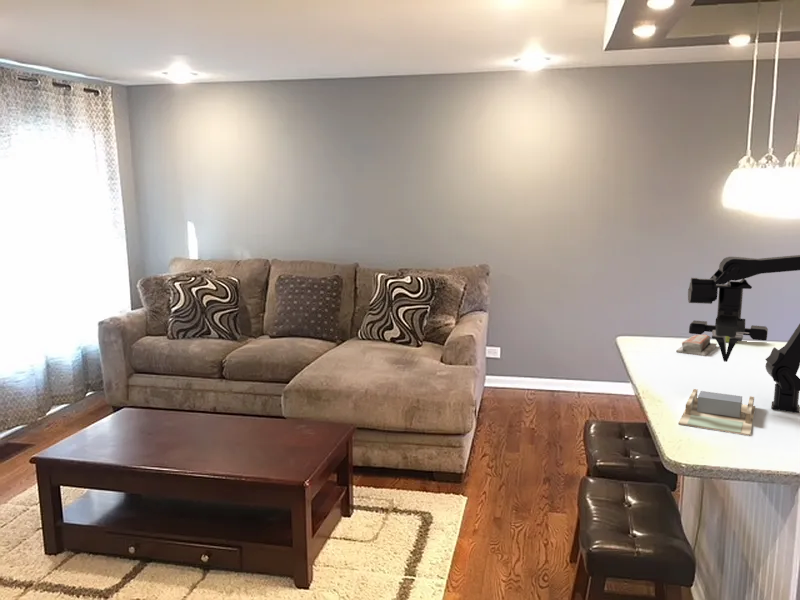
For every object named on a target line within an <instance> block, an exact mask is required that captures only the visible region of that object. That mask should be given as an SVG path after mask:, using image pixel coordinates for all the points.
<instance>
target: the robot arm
mask: <svg viewBox="0 0 800 600" xmlns="http://www.w3.org/2000/svg"><path fill="white" fill-rule="evenodd" d="M795 271H796V272H797V271H800V254H798V255H797V254H796V255H795V254H794V255H785V256H783V255H782V256H774V257H762V258H753V257H741V256H727V257H723V259H722V260H721V261H720V262H719V265H718V269H717V270H716V271H715V272H714V274H713V275H711V277H710V278H699V277H691V278H690V282H689V286H688V290H687V301H688V304H704V305H705V304H709V305H712V304H713V302H715V301H717V312H716V313H717V314H716V315H717V316H716V317H715V324H714V325H713V324H708V321H705V320H693V321H691V322H690V323H689V327H688V328H689V329H688V334H691V335H703V334H704V333H705V332H710V333H712V335H711V339H713V340H716V342H717V344H718V346H719V349H720V352H721V356H722V360H723V362H728V360H729V358H730V355H731V354H732V351H733V349H734V347H735V346H736V345H737V343H738V342H742V341H743V339H744V336H749V338H751V339H752V340H756V341H767V339H768V334H769V333H768V332H769V329H768V327H767V326H766V325H764V326H763V325H750V328H749V327H748V328H747V327H746V318H742V307H743V305H742V304H743V294H744V292H743V291H744V290H745V289H746V290H752V288H753V286H752V285H751V284H750V283H749V282H748V281H747V279H749V278H752V277H755V276H758V275H761V274H770V273H771V274H772V273H784V272H795ZM717 299H718V300H717ZM726 336H729V337H730V339H729V343H728V345H727V342H726ZM737 341H738V342H737ZM726 345H727V346H726ZM765 362H766V363H765V370H766V372H767V373H768V375H769V376H770V377H771V378H772V380H773V382H775V384H774V391H773V393H774V394H773V395H774V396H773V401H771V407H770V410H775V411H780V412H781V411H783V412H788V413H794V414H795V413H796V414H799V413H800V404H799V398H800V377H799V376H798V375H797V373H798V372H799V368H800V323H799V324H798V325H797V327H796V328H795V330H794V332H793V333H792V334H791V336H790V338H789V339H788V341H787V342H786V344H785V345H784V346H783V347H781V348H779V349H777V348H776V347H773V348H772V350H771V352H770V354H769V355H768V356H767V357H766V358H765Z"/></svg>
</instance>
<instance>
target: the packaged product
mask: <svg viewBox="0 0 800 600" xmlns="http://www.w3.org/2000/svg"><path fill="white" fill-rule="evenodd" d="M711 339H712V336H710V335H707V334H704V333H702V334H701V335H700V334H693V335H692V336H690V337H689V338H687V339H685V340H684V341H682V342H681V347H679V348H678V349H676V352H675V353H677V354H685V355H692V356H693V355H694V356H701V357H706V356H707V355H708V354H710V353H711V352H712V351H713V350H715V348H716V347H717V344H718V342H717V343H716V342H715V343H714V342H711Z"/></svg>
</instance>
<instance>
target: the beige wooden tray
mask: <svg viewBox="0 0 800 600" xmlns="http://www.w3.org/2000/svg"><path fill="white" fill-rule="evenodd" d="M698 390H699V389H697V388H693V389H692V391H691V394H690V395H689V398H688V399H687V402H686V403H685V409H684V411H683V413H682V415H681V417H680V420H678V424H680V426H685V425H688V426H687V427H691V426H694V427H693V428H697V427H699V428H698V429H704V428H707V429H706V430H710V429H713V430H712V431H717V430H719V431H718V432H723V431H725V432H724V433H729V432H731V434H737V435H742V434H743V435H744V436H748V435H749V436H751V433H752V432H751V431H752V428H753V421H754V417H755V411H756V405H754V402H755V397H754V396H752V395H750V396H749V399H748V403H747V404H744V403H742V407H741V414H740V418H738V417H731V416H724V415H717V414H710V413H704V412H697V405H698V393H699V391H698ZM749 436H748V437H749Z"/></svg>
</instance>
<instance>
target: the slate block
mask: <svg viewBox="0 0 800 600" xmlns="http://www.w3.org/2000/svg"><path fill="white" fill-rule="evenodd" d="M697 398H698V405H697V412H704V413H710V414H717V415H724V416H731V417H738V418H740V414H741V407H742V404H743V396H742V395H736V394H735V395H734V394H726V393H719V392H712V391H705V390H701V391H700V392H699V394H698V395H697Z"/></svg>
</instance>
